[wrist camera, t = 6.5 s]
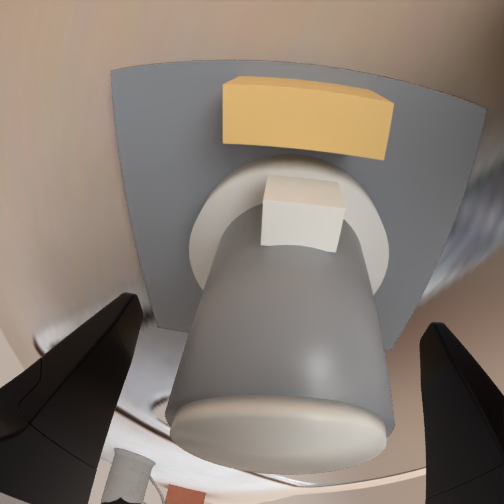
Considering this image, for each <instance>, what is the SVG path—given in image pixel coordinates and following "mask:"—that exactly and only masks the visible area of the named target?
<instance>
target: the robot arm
mask: <svg viewBox="0 0 504 504" xmlns="http://www.w3.org/2000/svg"><path fill="white" fill-rule="evenodd" d="M142 319H143V312H142V308H141V305H140V302H139V299H138V296H137V295H136V294H132V293H123V294H121V295H120V296H119V297H117V298H116V299H115V300H113V301H112V302H111V303H109V304H108V305H107V306H105V307H104V308H103V309H102V310H100V311H99V312H98V313H96V314H95V315H94V316H92V317H91V318H90V319H89V320H87V321H86V322H85V323H83V324H82V325H81V326H80V327H78V328H77V329H76V330H75V331H73V332H72V333H71V334H70V335H68V336H67V337H66V338H64V339H63V340H62V341H61V342H59V343H58V344H57V345H56V346H55V347H53V348H52V349H51V350H50V351H48V352H47V353H46V354H45V355H43V357H42V358H40V359H38V360H37V361H36V362H35V363H34V364H32V365H31V366H30V367H29V368H27V369H26V370H25V371H24V372H22V373H21V374H20V375H18V376H17V377H15V378H14V379H13V380H12V381H10V382H8V383H7V384H5V385H4V386H3V387H1V388H0V504H88V501H89V497H90V493H91V489H92V486H93V482H94V478H95V474H96V471H97V467H98V463H99V460H100V456H101V453H102V449H103V446H104V443H105V439H106V436H107V433H108V430H109V427H110V424H111V420H112V417H113V414H114V411H115V408H116V405H117V402H118V399H119V396H120V393H121V390H122V388H123V385H124V382H125V379H126V376H127V373H128V371H129V368H130V365H131V362H132V358H133V355H134V351H135V346H136V342H137V338H138V335H139V331H140V327H141V323H142ZM420 365H421V366H420V368H421V391H422V402H423V413H424V426H425V442H426V443H425V444H426V501H425V504H504V395H503V394H502V393H501V391H500V390H499V389H498V388H497V386H496V385H495V384H494V383H493V381H492V380H491V379H490V377H489V376H488V375H487V374H486V372H485V371H484V370H483V369H482V368H481V366H480V365H479V364H478V363H477V361H476V360H475V359H474V358H473V357H472V355H471V354H470V353H469V352H468V351H467V349H466V348H465V347H464V346H463V345H462V344H461V342H460V341H459V340H458V339H457V338H456V337H455V336H454V334H453V333H452V332H451V331H450V330H449V329H448V328H447V326H446V325H445V324H444V323H441V322H432V323H431V324H430V325H429V326H428V328H427V329H426V331H425V333H424V334H423V336H422V338H421V340H420Z"/></svg>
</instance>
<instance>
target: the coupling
mask: <svg viewBox="0 0 504 504" xmlns="http://www.w3.org/2000/svg"><path fill="white" fill-rule="evenodd" d="M345 209H346V208H345V205H344V201H343V198H342V194H341V191H340V188H339V184H338V182H332V181H324V180H315V179H306V178H297V177H286V176H275V175H268V177H267V182H266V188H265V193H264V198H263V204H260V205H257V206H255V207H253V208H251V209H248V210H247V211H245V212H244V213H242V214H241V215H239V216H238V217H237V218H236V219H235V220H233V221H232V222H231V224H230V225H229V226H228V227H227V228H226V230H225V232H224V233H223V235H222V237H221V240H220V243H219V245H218V248H217V251H216V254H215V257H214V260H213V263H212V266H211V269H210V272H209V275H208V278H207V281H206V284H205V287H204V290H203V293H202V296H201V299H200V302H199V305H198V308H197V311H196V314H195V317H194V320H193V323H192V327H191V330H190V333H189V336H188V339H187V342H186V345H185V349H184V352H183V355H182V358H181V361H180V365H179V368H178V371H177V374H176V378H175V381H174V384H173V388H172V391H171V394H170V398H169V401H168V405H167V408H166V411H165V417H166V419H167V422H168V424H169V425H170V426H171V430H170V436H171V439H172V440H173V441H174V442H175V443H176V444H177V445H178V446H179V447H180V448H182V449H183V450H185V451H187V452H188V453H190V454H192V455H194V456H196V457H199V458H201V459H203V460H206V461H209V462H212V463H215V464H218V465H222V466H225V467H229V468H234V469H238V470H244V471H250V472H257V473H266V474H283V475H286V474H287V475H299V474H315V473H324V472H331V471H336V470H341V469H345V468H349V467H353V466H356V465H359V464H362V463H364V462H367V461H369V460H371V459H373V458H374V457H376V456H378V455H379V454H380V453H382V452H383V450H384V449H385V448H386V445H387V437H388V436H389V435H390V434H391V433H392V431H393V429H394V426H395V422H394V412H393V404H392V396H391V390H390V382H389V376H388V370H387V363H386V357H385V351H384V346H383V340H382V335H381V330H380V325H379V320H378V315H377V310H376V306H375V301H374V297H373V292H372V288H371V284H370V280H369V275H368V271H367V267H366V263H365V260H364V256H363V252H362V248H361V244H360V241H359V239H358V237H357V235H356V233H355V231H354V230H353V229H352V227H351V226H350V225H349V224H348V223H347V222H346V220H344V214H345Z"/></svg>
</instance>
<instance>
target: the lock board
mask: <svg viewBox="0 0 504 504" xmlns="http://www.w3.org/2000/svg"><path fill="white" fill-rule="evenodd" d="M111 86H112V98H113V109H114V118H115V127H116V136H117V143H118V151H119V158H120V164H121V171H122V177H123V183H124V189H125V194H126V200H127V205H128V210H129V215H130V220H131V225H132V230H133V235H134V239H135V244H136V248H137V252H138V257H139V261H140V265H141V269H142V273H143V277H144V281H145V285H146V289H147V292H148V296H149V300H150V303H151V307H152V310H153V314H154V317H155V321H156V324H157V327H159V328H165V329H171V330H177V331H183V332H189V333H190V330H191V327H192V323H193V320H194V317H195V314H196V311H197V308H198V305H199V302H200V299H201V296H202V293H203V290H204V287H205V284H206V281H207V278H208V275H209V272H210V269H211V266H212V263H213V260H214V257H215V254H216V251H217V248H218V245H219V243H220V240H221V237H222V235H223V233H224V232H225V230H226V228H227V227H228V226H229V225H230V224H231V222H232V221H233V220H235V219H236V218H237V217H238V216H239V215H241V214H242V213H244V212H245V211H247V210H248V209H251V208H253V207H255V206H257V205H260V204H263V198H264V193H265V188H266V182H267V177H268V175H275V176H286V177H297V178H306V179H315V180H324V181H332V182H338V184H339V188H340V191H341V194H342V198H343V201H344V205H345V208H346V209H345V214H344V220H346V222H347V223H348V224H349V225H350V226H351V227H352V229H353V230H354V231H355V233H356V235H357V237H358V239H359V241H360V244H361V248H362V252H363V256H364V260H365V263H366V267H367V271H368V275H369V280H370V284H371V288H372V292H373V297H374V301H375V306H376V310H377V315H378V320H379V325H380V330H381V335H382V340H383V346H384V350H392V348H393V347H394V345H395V343H396V342H397V340H398V338H399V336H400V335H401V333H402V331H403V329H404V327H405V326H406V324H407V322H408V321H409V319H410V317H411V315H412V313H413V311H414V309H415V308H416V306H417V304H418V302H419V300H420V298H421V296H422V294H423V292H424V290H425V288H426V286H427V284H428V282H429V280H430V278H431V275H432V273H433V271H434V269H435V267H436V265H437V262H438V260H439V258H440V256H441V253H442V251H443V249H444V246H445V244H446V241H447V239H448V237H449V234H450V232H451V229H452V227H453V224H454V221H455V219H456V216H457V213H458V211H459V208H460V205H461V202H462V199H463V196H464V193H465V190H466V187H467V184H468V181H469V178H470V175H471V171H472V168H473V164H474V161H475V157H476V154H477V150H478V146H479V142H480V138H481V134H482V130H483V125H484V121H485V116H486V111H487V109H485V108H483V107H481V106H479V105H477V104H474V103H472V102H469V101H466V100H464V99H461V98H458V97H455V96H452V95H449V94H446V93H443V92H440V91H437V90H433V89H430V88H427V87H423V86H420V85H416V84H412V83H409V82H405V81H401V80H397V79H392V78H388V77H384V76H379V75H374V74H369V73H364V72H359V71H353V70H347V69H341V68H335V67H328V66H320V65H312V64H302V63H291V62H278V61H260V60H200V61H182V62H169V63H158V64H149V65H141V66H133V67H126V68H121V69H116V70H112V71H111Z"/></svg>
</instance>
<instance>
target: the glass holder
mask: <svg viewBox="0 0 504 504" xmlns="http://www.w3.org/2000/svg"><path fill="white" fill-rule="evenodd" d="M114 450H115V456H114V459H113V462H112V466H111V469H110V472H109V476H108V479H107V482H106V485H105V489H104V492H103V496H102V499H101V504H142V503H143V504H146V503H145V502H143V500H144V496H145V492H146V488H147V485H148V481H149V479H150V480H151V482H152V483H153V485H154V486H155V487H156V489H157V491H158V492H159V494H160V496H161V499H162V504H165V501H164V497H163V495H162V493H161V491H160V490H159V488H158V487H157V485H156V484H155V482H154V481H153V479H152V477H151V475H150V473H151V469H152V467H153V466H154V465H155V462H154V461H152V460H150V459H148V458H146V457H143V456H141V455H138V454H136V453H133V452H130V451H127V450H123V449H119V448H115V449H114Z"/></svg>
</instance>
